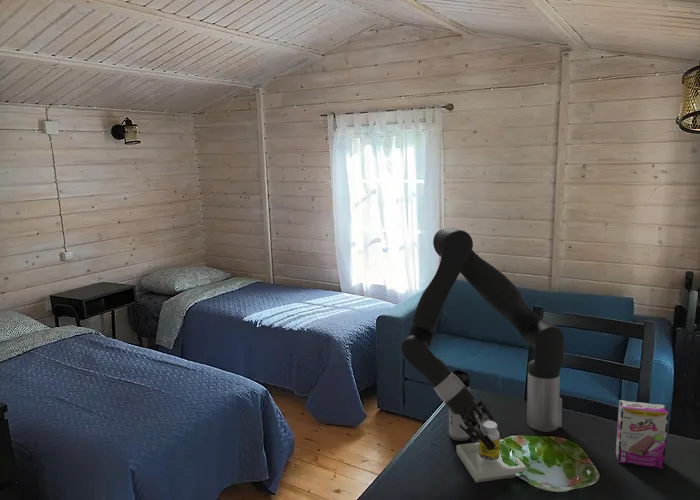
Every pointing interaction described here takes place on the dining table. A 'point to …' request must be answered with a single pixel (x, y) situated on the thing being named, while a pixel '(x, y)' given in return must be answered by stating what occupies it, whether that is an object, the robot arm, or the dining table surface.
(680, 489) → the dining table surface
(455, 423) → the travel mug
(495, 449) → the supplement bottle
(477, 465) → the tray
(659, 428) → the candy bar box
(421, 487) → the dining table surface
